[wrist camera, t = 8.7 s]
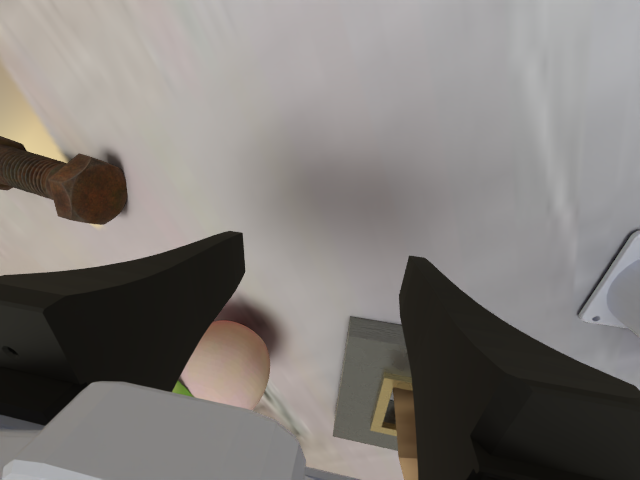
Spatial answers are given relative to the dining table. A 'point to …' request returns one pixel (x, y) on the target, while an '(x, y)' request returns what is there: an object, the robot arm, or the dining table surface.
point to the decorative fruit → (227, 366)
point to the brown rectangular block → (406, 432)
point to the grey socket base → (371, 382)
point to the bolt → (65, 182)
